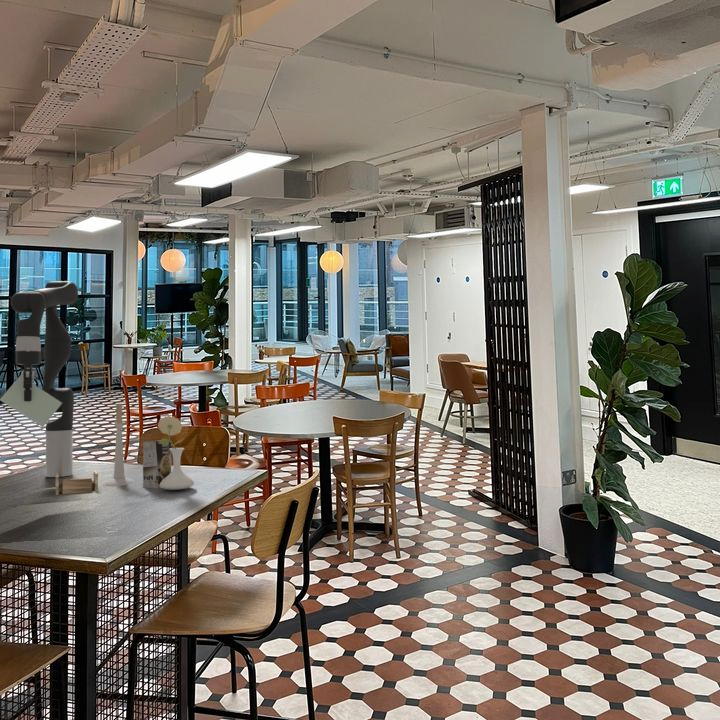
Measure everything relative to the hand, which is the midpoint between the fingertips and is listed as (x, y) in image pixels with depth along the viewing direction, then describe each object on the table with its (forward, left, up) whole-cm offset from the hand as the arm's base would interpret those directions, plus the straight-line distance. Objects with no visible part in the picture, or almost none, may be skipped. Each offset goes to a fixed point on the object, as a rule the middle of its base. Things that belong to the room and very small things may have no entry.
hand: (27, 401), depth 212 cm
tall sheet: (0, +7, -5) cm, 9 cm away
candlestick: (-3, +29, -31) cm, 43 cm away
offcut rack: (+4, +15, -31) cm, 35 cm away
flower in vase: (+20, +45, -31) cm, 58 cm away
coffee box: (+8, +41, -31) cm, 52 cm away
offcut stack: (+6, +15, -31) cm, 35 cm away
